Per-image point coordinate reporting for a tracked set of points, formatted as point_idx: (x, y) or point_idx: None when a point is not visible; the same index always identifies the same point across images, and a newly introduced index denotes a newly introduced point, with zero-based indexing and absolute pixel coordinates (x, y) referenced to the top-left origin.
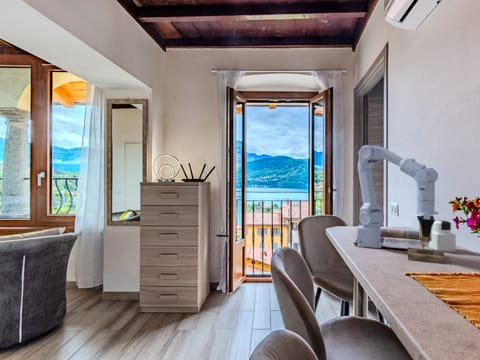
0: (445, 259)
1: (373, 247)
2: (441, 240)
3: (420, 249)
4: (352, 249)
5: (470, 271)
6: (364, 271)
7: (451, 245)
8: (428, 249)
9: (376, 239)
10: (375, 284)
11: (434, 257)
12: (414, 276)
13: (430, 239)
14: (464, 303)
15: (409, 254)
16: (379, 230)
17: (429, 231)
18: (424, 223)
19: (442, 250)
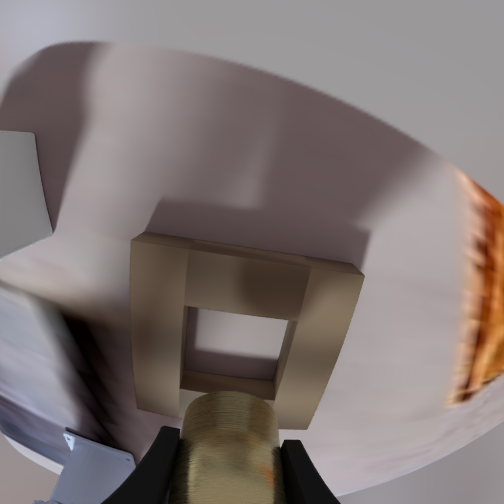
0: (359, 274)
1: (135, 466)
2: (2, 226)
3: (157, 366)
4: None
5: (458, 189)
6: (426, 462)
7: (13, 155)
8: (135, 322)
9: (116, 483)
10: (490, 426)
11: (344, 331)
12: (480, 381)
13: (266, 411)
14: None
15: (307, 425)
16: (90, 502)
17: (318, 483)
18: None
19: (43, 206)
